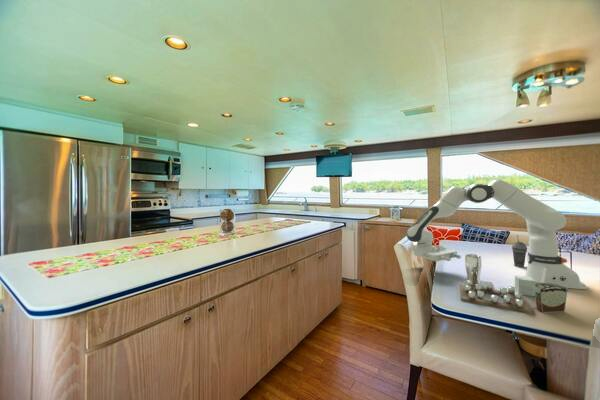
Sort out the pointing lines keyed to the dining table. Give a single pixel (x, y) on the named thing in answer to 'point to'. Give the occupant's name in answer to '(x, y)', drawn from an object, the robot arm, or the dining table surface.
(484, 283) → the grey mat
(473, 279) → the silver metal tumbler
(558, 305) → the food container
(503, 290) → the spacers
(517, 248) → the beverage cup
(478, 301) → the board
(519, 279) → the skincare box
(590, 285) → the dining table surface
